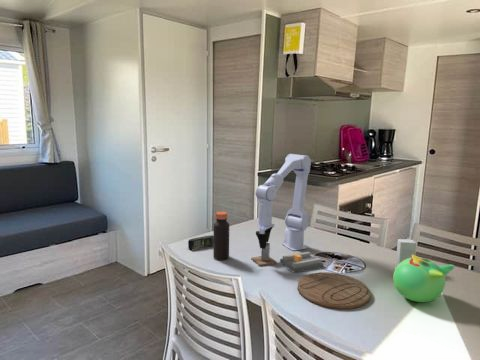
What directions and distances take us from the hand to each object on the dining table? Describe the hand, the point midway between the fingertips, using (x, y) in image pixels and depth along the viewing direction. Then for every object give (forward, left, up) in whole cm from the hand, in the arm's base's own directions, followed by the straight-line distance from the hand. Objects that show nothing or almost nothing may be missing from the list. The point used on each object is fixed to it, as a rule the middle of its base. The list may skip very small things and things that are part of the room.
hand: (264, 245), depth 155 cm
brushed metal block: (0, 0, -7) cm, 7 cm away
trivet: (+33, +10, -8) cm, 36 cm away
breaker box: (+9, +13, -7) cm, 17 cm away
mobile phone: (-27, -18, -8) cm, 33 cm away
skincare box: (+29, +50, -8) cm, 58 cm away
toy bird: (+49, +34, -8) cm, 60 cm away
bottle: (-11, -15, -8) cm, 20 cm away
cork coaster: (0, 0, -7) cm, 7 cm away
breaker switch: (+9, +11, -5) cm, 15 cm away
